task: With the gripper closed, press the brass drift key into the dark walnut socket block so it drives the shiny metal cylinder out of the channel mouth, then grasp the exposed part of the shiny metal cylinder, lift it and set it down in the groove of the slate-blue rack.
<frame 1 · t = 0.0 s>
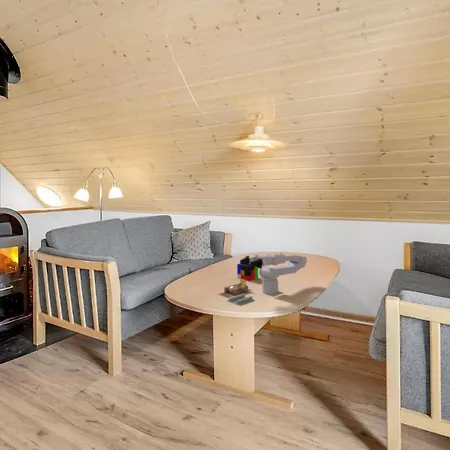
hand: (245, 263, 203), 22 cm above the table, tool horizontal, fingers open, 7 cm apart
shiny metal cylinder: (235, 292, 220), point 1 cm above the table, touching socket block
rack: (240, 301, 205), on the table
socket block: (237, 292, 221), on the table
drift key: (242, 284, 223), point 4 cm above the table, slide at 0.0 cm
puzzle toy: (247, 278, 252), on the table
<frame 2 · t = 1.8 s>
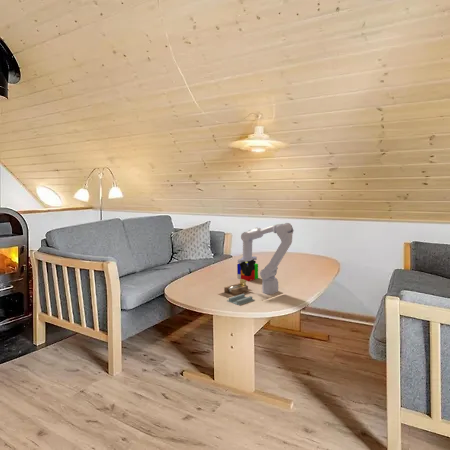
hand: (247, 272, 226), 10 cm above the table, tool pointing down, fingers open, 5 cm apart
nothing on the table moved.
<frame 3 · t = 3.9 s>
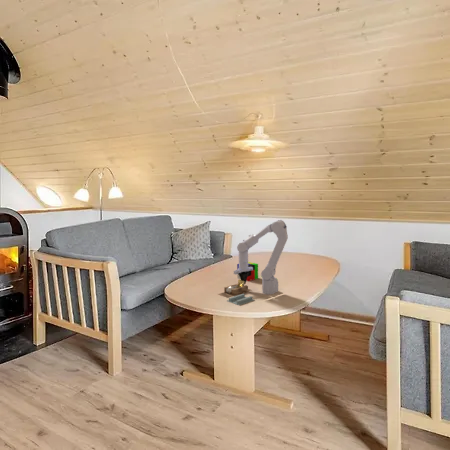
hand: (243, 283, 224), 4 cm above the table, tool pointing down, fingers closed
shiny metal cylinder: (233, 292, 219), point 1 cm above the table, tilted 15°, touching drift key, socket block
drift key: (240, 285, 222), point 4 cm above the table, slide at 1.5 cm, touching shiny metal cylinder, gripper
everything else where it was.
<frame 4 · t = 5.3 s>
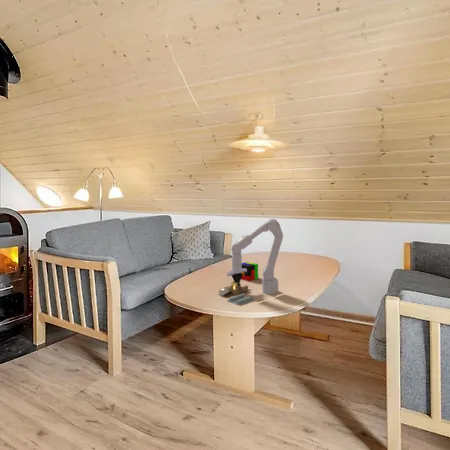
hand: (237, 285, 220), 4 cm above the table, tool pointing down, fingers closed
shiny metal cylinder: (226, 294, 215), point 1 cm above the table, tilted 15°, touching drift key, socket block
drift key: (233, 287, 218), point 4 cm above the table, slide at 7.1 cm, touching shiny metal cylinder, gripper
everything else where it was.
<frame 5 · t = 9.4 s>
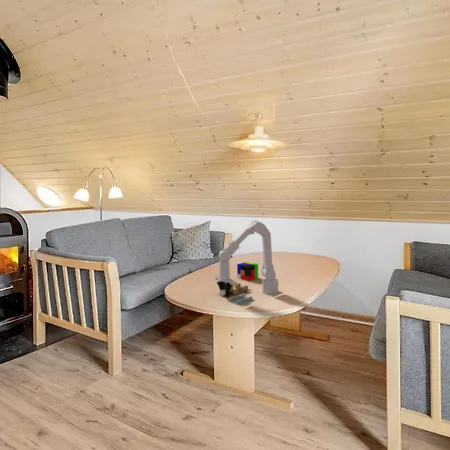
hand: (225, 294, 214), 1 cm above the table, tool pointing down, fingers closed on shiny metal cylinder, 4 cm apart
shiny metal cylinder: (226, 294, 215), point 1 cm above the table, touching gripper, socket block
drift key: (233, 287, 218), point 4 cm above the table, slide at 7.1 cm
everything else where it was.
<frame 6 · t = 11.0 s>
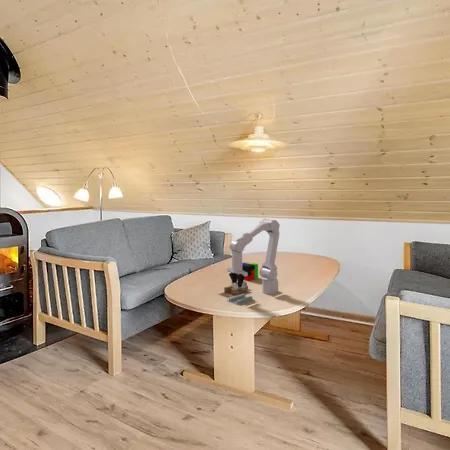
hand: (237, 286, 206), 8 cm above the table, tool pointing down, fingers closed on shiny metal cylinder, 4 cm apart
shiny metal cylinder: (239, 288, 207), point 7 cm above the table, tilted 7°, touching gripper
everything else where it was.
when the fingers open (3 cm above the table, at t = 12.6 s): shiny metal cylinder stays where it is, resting on rack.
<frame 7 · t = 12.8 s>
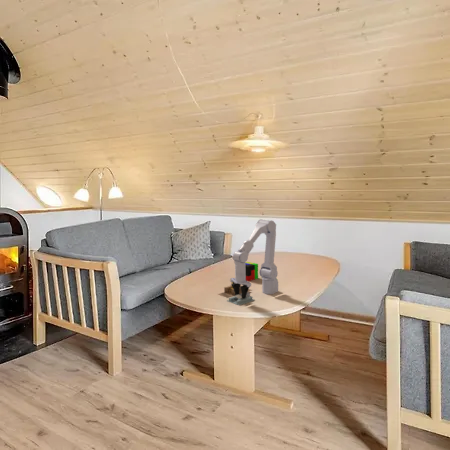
hand: (240, 296, 204), 3 cm above the table, tool pointing down, fingers open, 5 cm apart
shiny metal cylinder: (242, 299, 206), point 1 cm above the table, tilted 5°, touching rack
everything else where it was.
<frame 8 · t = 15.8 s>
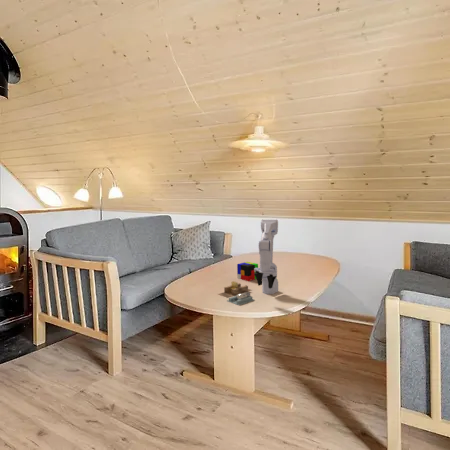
hand: (265, 286, 201), 9 cm above the table, tool pointing down, fingers open, 7 cm apart
shiny metal cylinder: (242, 299, 206), point 1 cm above the table, tilted 16°, touching rack
everything else where it was.
at the end: drift key slide at 7.0 cm; shiny metal cylinder inside the target area on the rack (1.5 cm from its centre), point 1.1 cm above the rack's base; the gripper is holding nothing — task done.
